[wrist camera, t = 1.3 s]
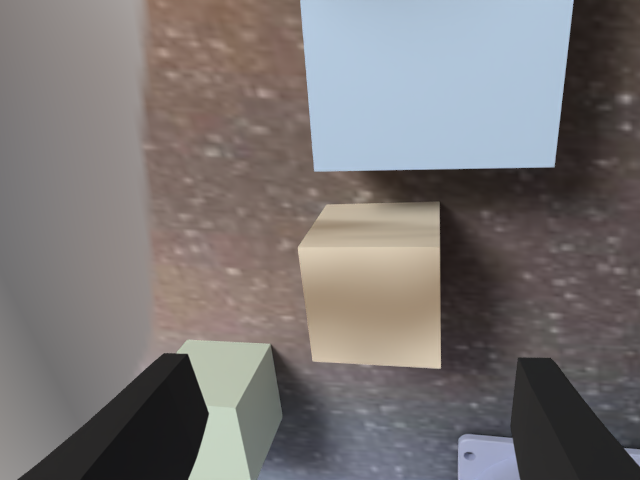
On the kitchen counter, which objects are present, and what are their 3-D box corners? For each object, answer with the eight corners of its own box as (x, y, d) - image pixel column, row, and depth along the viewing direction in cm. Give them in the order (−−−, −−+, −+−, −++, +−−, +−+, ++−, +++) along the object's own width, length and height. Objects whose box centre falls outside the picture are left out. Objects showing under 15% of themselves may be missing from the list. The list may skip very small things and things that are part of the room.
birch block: (440, 302, 20) (440, 368, 16) (336, 299, 21) (312, 361, 17) (439, 200, 18) (439, 246, 14) (327, 204, 19) (297, 247, 15)
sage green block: (283, 415, 25) (252, 489, 21) (205, 408, 26) (161, 477, 22) (271, 343, 23) (235, 407, 19) (187, 339, 24) (137, 399, 20)
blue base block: (529, 139, 17) (554, 167, 13) (338, 145, 19) (314, 171, 15) (551, -93, 14) (589, -137, 11) (325, -62, 16) (292, -91, 12)
